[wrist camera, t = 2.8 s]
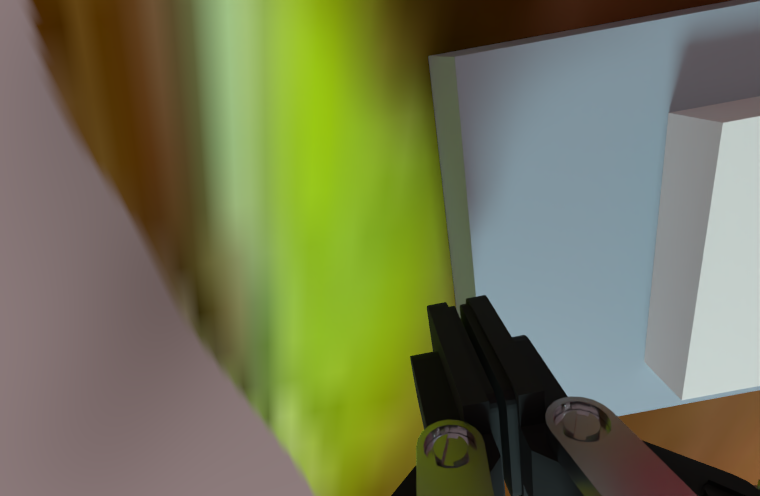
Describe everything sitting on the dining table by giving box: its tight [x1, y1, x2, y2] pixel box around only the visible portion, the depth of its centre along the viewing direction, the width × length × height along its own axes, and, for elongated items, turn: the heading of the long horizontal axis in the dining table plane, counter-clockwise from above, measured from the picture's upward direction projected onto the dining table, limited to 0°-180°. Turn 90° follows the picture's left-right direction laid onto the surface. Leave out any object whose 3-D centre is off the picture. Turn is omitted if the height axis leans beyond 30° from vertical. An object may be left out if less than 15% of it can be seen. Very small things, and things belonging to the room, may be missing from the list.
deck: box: [428, 0, 760, 416], centre depth 16 cm, size 14×14×4 cm
